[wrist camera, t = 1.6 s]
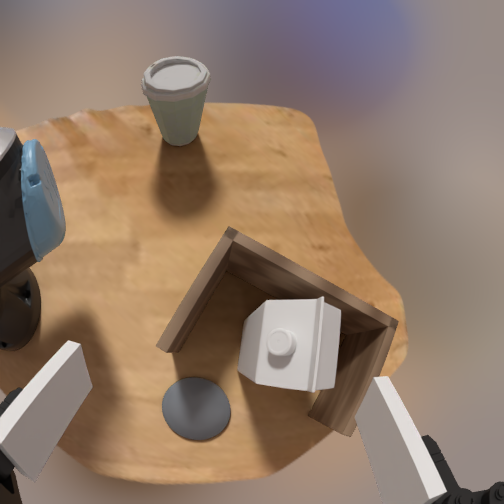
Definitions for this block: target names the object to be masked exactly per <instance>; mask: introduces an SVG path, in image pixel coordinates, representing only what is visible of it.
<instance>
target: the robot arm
mask: <svg viewBox="0 0 504 504" xmlns="http://www.w3.org/2000/svg"><path fill="white" fill-rule="evenodd" d="M65 231H66V224H65V216H64V211H63V207H62V203H61V199H60V195H59V192H58V188H57V185H56V181H55V178H54V175H53V172H52V169H51V166H50V163H49V161H48V158H47V155H46V153H45V151H44V149H43V147H42V146H41V144H40V142H39V141H38V140H36V139H33V140H31V141H30V140H27V141H26V142H25V143H24V145H22V143H21V142H20V140H19V138H18V136H17V134H16V132H15V130H14V129H13V128H6V127H0V349H2V350H10V351H13V350H18V349H20V348H22V347H23V346H25V345H26V344H27V343H28V342H29V340H30V339H31V337H32V336H33V334H34V332H35V330H36V327H37V324H38V320H39V315H40V291H39V287H38V283H37V280H36V278H35V276H34V274H33V272H32V271H31V269H30V268H29V267H30V266H32V265H33V264H35V263H36V262H40V261H41V260H42V259H43V257H44V256H45V255H47V254H48V253H49V252H51V251H52V250H53V249H55V248H56V247H58V246H59V245H60V244H61V242H62V241H63V239H64V236H65ZM92 387H93V386H92V383H91V380H90V376H89V373H88V370H87V366H86V363H85V359H84V355H83V351H82V347H81V344H79V343H76V342H72V341H69V340H68V341H67V342H66V343H65V344H64V345H63V346H62V347H61V348H60V349H59V350H58V351H57V353H56V354H55V355H54V356H53V357H52V358H51V359H50V360H49V361H48V362H47V363H46V364H45V365H44V367H43V368H42V369H41V370H40V371H39V372H38V373H37V374H36V375H35V377H34V378H33V379H32V380H31V381H30V382H29V383H28V385H27V386H26V387H25V388H24V389H21V388H17V389H16V390H14V391H12V392H10V393H9V395H8V396H7V397H6V398H5V399H4V402H2V403H1V404H0V504H22V501H21V498H20V494H19V489H18V485H17V480H16V476H15V473H14V471H13V469H14V467H16V469H18V471H19V472H20V473H21V474H23V475H24V476H26V477H27V478H29V479H30V480H32V481H33V482H36V480H37V478H38V476H39V474H40V473H41V471H42V469H43V467H44V465H45V464H46V462H47V460H48V458H49V457H50V455H51V453H52V451H53V450H54V448H55V446H56V445H57V443H58V441H59V440H60V438H61V436H62V435H63V433H64V431H65V430H66V428H67V427H68V425H69V423H70V422H71V420H72V418H73V417H74V415H75V414H76V412H77V411H78V409H79V407H80V406H81V404H82V403H83V401H84V400H85V398H86V397H87V395H88V394H89V392H90V390H91V389H92ZM355 420H356V423H357V426H358V429H359V432H360V434H361V437H362V440H363V443H364V446H365V449H366V452H367V455H368V458H369V461H370V464H371V468H372V471H373V474H374V477H375V480H376V483H377V486H378V490H379V493H380V496H381V500H382V503H383V504H504V482H497V483H495V484H494V485H493V486H492V487H490V489H488V490H484V491H478V492H471V491H470V490H468V489H464V488H460V487H459V486H458V484H457V482H456V480H455V478H454V476H453V474H452V472H451V470H450V468H449V466H448V464H447V462H446V460H444V459H445V458H444V456H443V454H442V453H441V450H440V449H439V447H438V445H437V443H436V442H435V441H434V440H433V439H432V438H431V437H430V436H429V435H426V436H422V437H421V436H420V435H419V433H418V431H417V429H416V427H415V425H414V423H413V421H412V419H411V417H410V415H409V414H408V412H407V410H406V408H405V406H404V404H403V403H402V401H401V399H400V397H399V395H398V394H397V392H396V390H395V388H394V386H393V385H392V383H391V381H390V379H389V378H388V376H384V377H373V379H372V382H371V384H370V386H369V388H368V391H367V393H366V395H365V397H364V399H363V401H362V403H361V405H360V407H359V409H358V411H357V413H356V415H355Z"/></svg>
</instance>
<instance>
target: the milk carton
mask: <svg viewBox="0 0 504 504" xmlns="http://www.w3.org/2000/svg"><path fill="white" fill-rule="evenodd" d="M340 323H341V310H340V309H338V308H335V307H333V306H331V305H329V304H327V303H325V302H324V297H320V298H318V299H301V300H266V301H265V302H264V303H263V304H262V305H261V306H260V307H258V308H257V309H256V310H255V311H254V312H253V313H252V314H251V315H250V316H249V317H247V318H246V319H245V320H244V325H243V332H242V339H241V346H240V354H239V361H238V369H237V370H238V371H239V372H240V373H241V374H243V375H244V376H246V377H247V378H249V379H250V380H251V381H253V382H255V383H256V384H261V385H267V386H274V387H280V388H288V389H295V390H303V391H309V392H312V393H314V392H315V390H322V389H330V388H334V385H335V377H336V368H337V359H338V348H339V337H340Z"/></svg>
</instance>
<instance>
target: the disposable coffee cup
mask: <svg viewBox="0 0 504 504" xmlns="http://www.w3.org/2000/svg"><path fill="white" fill-rule="evenodd" d="M210 80H211V78H210V73H209V71H208V70H207V68H206V66H204V65H203V63H200V62H198V61H197V60H195V59H193V58H188V57H180V56H175V57H169V58H162V59H160V60H158V61H156V62H155V63H153V64H151V65H150V66H149V67H148V68H147V70H146V71H145V73H144V78H143V79H142V85H141V86H142V90H143V94H144V95H146V96H147V98H148V101H149V104H150V106H151V109H152V111H153V114H154V116H155V119H156V121H157V124H158V126H159V129H160V131H161V134H162V136H163V139H164V140H165V141H166V142H168V143H169V144H171V145H175V146H182V145H186V144H189V143H190V142H192V141H193V140H194V139H195V137H196V136H197V133H198V131H199V126H200V121H201V116H202V112H203V107H204V102H205V98H206V93H207V89H208V85H209V83H210Z"/></svg>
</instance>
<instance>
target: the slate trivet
mask: <svg viewBox="0 0 504 504" xmlns="http://www.w3.org/2000/svg"><path fill="white" fill-rule="evenodd" d="M162 412H163V416H164V418H165V421H166V422H167V424H168V425H169V426H170V428H171V429H172V430H173V431H175V432H176V433H177V434H179V435H181V436H183V437H185V438H188V439H193V440H204V439H208V438H211V437H214V436H216V435H217V434H219V433H220V432H221V431H222V430H223V429H224V428H225V426H226V425H227V423H228V421H229V418H230V404H229V401H228V398H227V396H226V394H225V393H224V392H223V390H222V389H221V388H220V387H219V386H218V385H216V384H215V383H213V382H211V381H209V380H207V379H204V378H198V377H190V378H185V379H182V380H179V381H177V382H176V383H174V384H173V385H172V386H171V387H170V388H169V389H168V390H167V392H166V393H165V395H164V398H163V402H162Z"/></svg>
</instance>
